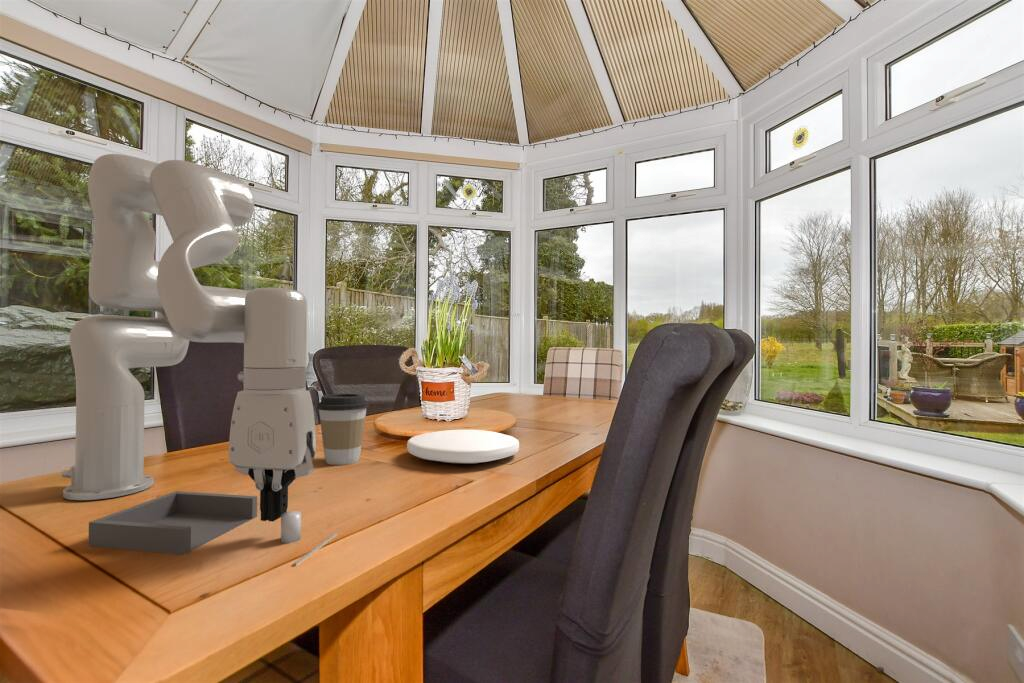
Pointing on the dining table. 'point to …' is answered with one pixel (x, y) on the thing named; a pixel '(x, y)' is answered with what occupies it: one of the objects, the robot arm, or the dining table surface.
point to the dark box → (173, 522)
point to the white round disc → (463, 446)
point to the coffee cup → (342, 427)
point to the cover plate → (296, 532)
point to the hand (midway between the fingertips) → (273, 517)
